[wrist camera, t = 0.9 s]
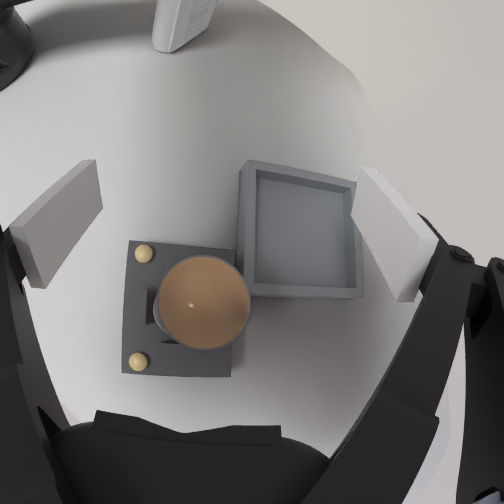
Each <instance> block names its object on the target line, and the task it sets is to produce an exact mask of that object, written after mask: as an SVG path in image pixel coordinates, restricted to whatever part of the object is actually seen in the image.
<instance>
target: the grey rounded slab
mask: <svg viewBox="0 0 504 504" xmlns="http://www.w3.org/2000/svg"><path fill="white" fill-rule="evenodd" d="M216 3H217V0H158V1H157V7H156V12H155V19H154V25H153V32H152V44H153V46H154V48H155V49H156V50H158V51H160V52H164V53H168V52H169V53H170V52H173V51H175V50H177V49H178V48H180V47H181V46H183V45H184V44H185V43H187V42H188V41H190V40H191V39H193V38H194V37H196V36H197V35H199V34H200V33H202V32H203V31H204V30H205V29H207V27H208V26H209V24H210V21H211V17H212V14H213V11H214V8H215V5H216Z"/></svg>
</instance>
